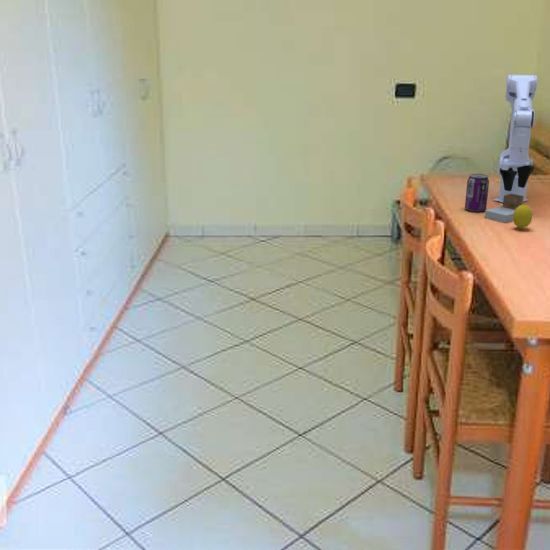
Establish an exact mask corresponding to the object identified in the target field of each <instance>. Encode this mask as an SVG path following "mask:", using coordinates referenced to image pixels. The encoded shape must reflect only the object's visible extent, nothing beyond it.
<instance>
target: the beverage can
mask: <svg viewBox="0 0 550 550" xmlns="http://www.w3.org/2000/svg"><path fill="white" fill-rule="evenodd" d="M468 175H469V176H468V178H467V182H466V190H465V201H464V203H465V204H464V208H465V209H466V210H467V211H469V212H473V213H480V212H483V211H485V210H487V206H488V195H489V189H490V188H489V185H490V180H489V175H488V174H483V173H470V174H468Z"/></svg>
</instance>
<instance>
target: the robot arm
mask: <svg viewBox="0 0 550 550" xmlns="http://www.w3.org/2000/svg"><path fill="white" fill-rule="evenodd" d="M537 87H538V76H537V74H530V75H529V74H508V76H506V84H505V100H506V102H508V103H510V106H511V116H510V125H509V126H510V127H509V137H508V138H509V139H508V148H507V149H505V150H502V152H501V153H500V154H499V160H498V167H497V174H498V175H499V176H500V185H499V186H500V187H499V193H498V197H496V198H494V199H493V201H495V202H498V201H499V202H500V203H503V199H504V195H508V194H516V195H521V196H524V197H523V203H524V202H527V201H528V199H527V198H526V197H527V191H528V190H527V188H528V180H529V178H530V176H531V174H532V173H533V171H534V169H535V166H533V164H534V159H533V158H530V156H529V149H530V142H531V135H532V134H531V133H532V129H533V127H534V124H535V110H534V109H533V100H534V98H535V95H536V92H537ZM499 202H498V203H499Z"/></svg>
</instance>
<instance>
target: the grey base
mask: <svg viewBox="0 0 550 550" xmlns="http://www.w3.org/2000/svg"><path fill="white" fill-rule="evenodd" d="M514 211H515V210H513V209H509V208H505V207H503V206H497V207H493V208H489V209H486V210H484V219H488V218H489V219H488V220H492V219H493V221H496V222H500V221H501V222H500V223H503V222H504V224H507V223H510V221H511V222H514V221H513V214H514Z"/></svg>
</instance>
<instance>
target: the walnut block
mask: <svg viewBox="0 0 550 550" xmlns="http://www.w3.org/2000/svg"><path fill="white" fill-rule="evenodd" d="M523 197H524V196H521V195H516V194H508V195H504V199H503V202H502V207H505V208H509V209H513V210H515V209H516V208H517V207H518V206H520V205H523V204H524V202H523Z"/></svg>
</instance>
